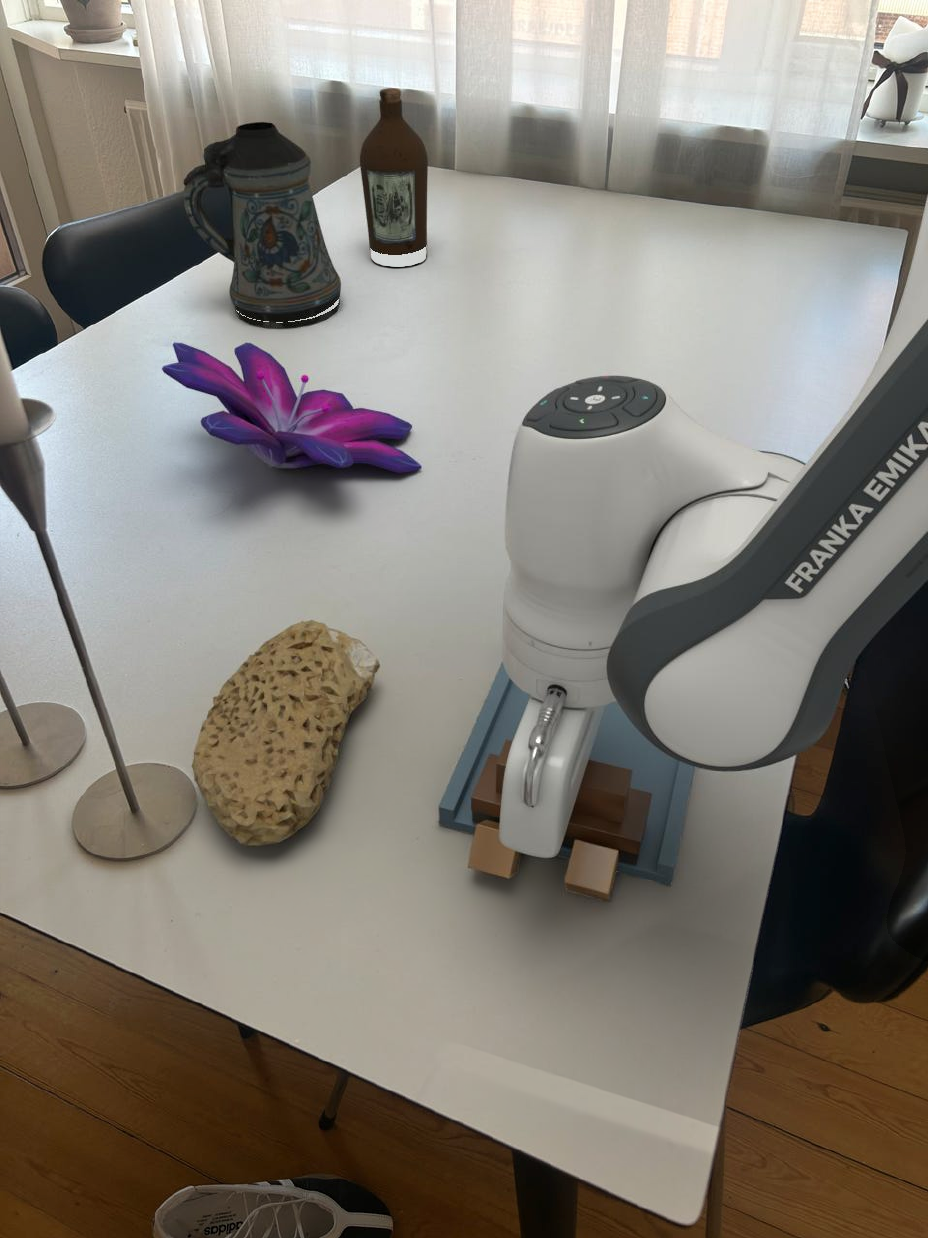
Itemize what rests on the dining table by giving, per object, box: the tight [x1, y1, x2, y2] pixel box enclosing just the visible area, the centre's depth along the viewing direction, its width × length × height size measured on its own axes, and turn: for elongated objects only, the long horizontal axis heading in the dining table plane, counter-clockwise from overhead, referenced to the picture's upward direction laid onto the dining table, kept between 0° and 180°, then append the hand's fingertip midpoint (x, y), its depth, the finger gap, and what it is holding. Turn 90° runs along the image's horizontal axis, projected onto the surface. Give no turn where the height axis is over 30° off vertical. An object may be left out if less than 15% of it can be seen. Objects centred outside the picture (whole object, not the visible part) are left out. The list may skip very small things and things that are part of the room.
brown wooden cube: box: [467, 820, 522, 879], centre depth 67 cm, size 3×3×3 cm
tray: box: [438, 661, 695, 887], centre depth 76 cm, size 17×22×2 cm
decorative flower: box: [161, 342, 423, 474], centre depth 108 cm, size 31×31×10 cm
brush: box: [471, 740, 652, 865], centre depth 68 cm, size 12×4×6 cm, turn 71°
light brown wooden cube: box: [563, 839, 619, 903], centre depth 65 cm, size 3×3×3 cm
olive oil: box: [359, 87, 429, 255], centre depth 153 cm, size 11×11×25 cm
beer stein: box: [182, 121, 342, 330], centre depth 136 cm, size 16×19×25 cm
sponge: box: [191, 619, 381, 846], centre depth 74 cm, size 13×8×20 cm
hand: (562, 787), depth 67 cm, fingers closed on brush, 2 cm apart
